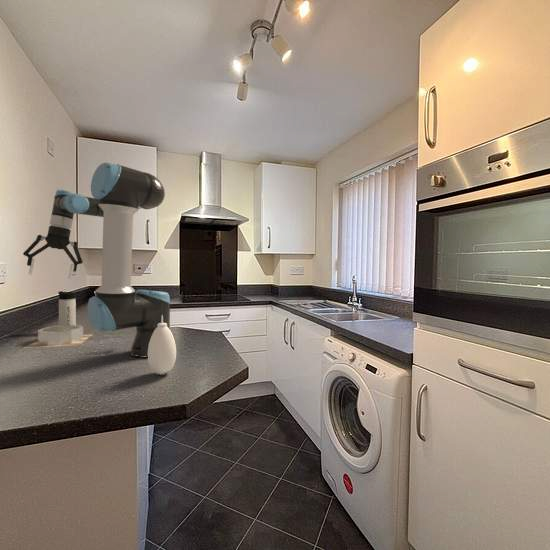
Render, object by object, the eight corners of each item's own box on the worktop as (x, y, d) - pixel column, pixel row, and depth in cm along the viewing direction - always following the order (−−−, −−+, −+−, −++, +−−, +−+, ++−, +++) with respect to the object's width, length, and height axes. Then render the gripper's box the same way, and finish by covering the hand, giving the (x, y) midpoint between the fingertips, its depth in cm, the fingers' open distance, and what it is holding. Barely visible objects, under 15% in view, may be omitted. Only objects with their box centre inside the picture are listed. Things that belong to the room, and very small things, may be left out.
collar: (75, 344, 115) (75, 331, 115) (31, 346, 111) (31, 333, 111) (87, 335, 129) (87, 324, 129) (48, 337, 125) (48, 325, 125)
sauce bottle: (159, 381, 83) (159, 317, 82) (142, 375, 87) (142, 315, 86) (181, 373, 89) (181, 314, 89) (164, 368, 93) (164, 311, 93)
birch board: (78, 348, 114) (78, 344, 114) (23, 351, 109) (23, 348, 109) (93, 337, 131) (93, 334, 131) (45, 339, 126) (45, 336, 126)
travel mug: (63, 333, 136) (63, 290, 136) (78, 333, 137) (78, 291, 136) (54, 337, 130) (54, 292, 129) (70, 337, 131) (70, 292, 130)
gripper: (91, 234, 136) (83, 279, 135) (21, 219, 119) (11, 271, 118) (95, 234, 131) (86, 281, 130) (22, 218, 114) (11, 272, 112)
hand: (50, 276), depth 124 cm, fingers open, 13 cm apart
